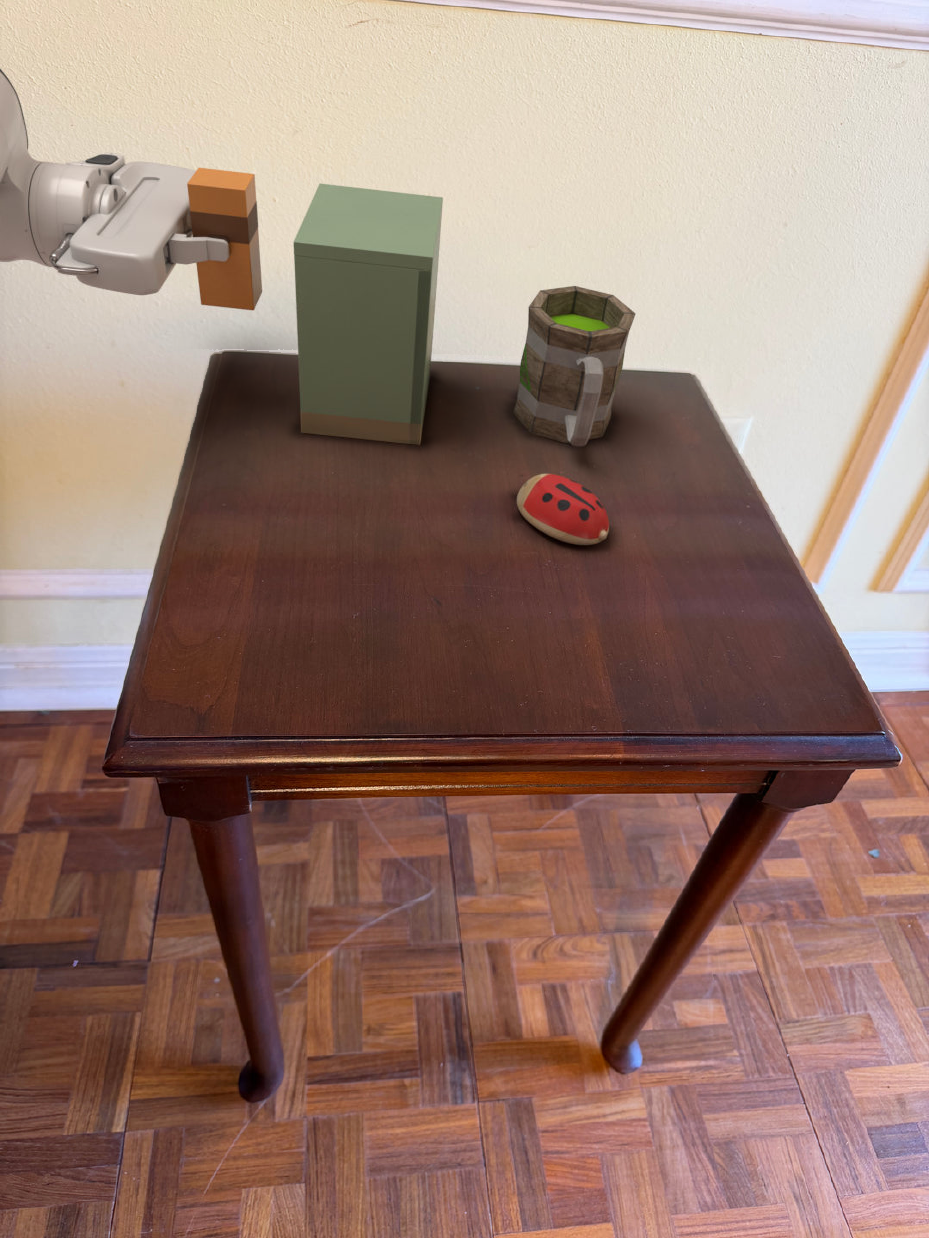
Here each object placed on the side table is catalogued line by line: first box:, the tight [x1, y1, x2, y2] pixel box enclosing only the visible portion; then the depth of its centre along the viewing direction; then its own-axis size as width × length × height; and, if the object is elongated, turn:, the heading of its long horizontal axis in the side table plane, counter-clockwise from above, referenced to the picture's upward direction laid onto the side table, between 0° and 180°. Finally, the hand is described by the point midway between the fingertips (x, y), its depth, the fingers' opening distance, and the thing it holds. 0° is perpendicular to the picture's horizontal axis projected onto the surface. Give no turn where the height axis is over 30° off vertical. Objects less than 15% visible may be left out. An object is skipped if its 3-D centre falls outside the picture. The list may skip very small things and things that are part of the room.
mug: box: [512, 285, 636, 447], centre depth 91 cm, size 16×11×12 cm
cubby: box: [293, 183, 444, 446], centre depth 88 cm, size 12×14×19 cm
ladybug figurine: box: [516, 473, 610, 546], centre depth 82 cm, size 7×10×4 cm
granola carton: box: [187, 167, 263, 311], centre depth 82 cm, size 5×4×11 cm
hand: (236, 236), depth 82 cm, fingers closed on granola carton, 4 cm apart
